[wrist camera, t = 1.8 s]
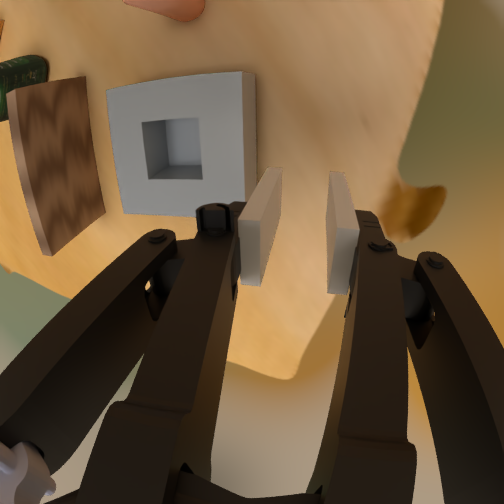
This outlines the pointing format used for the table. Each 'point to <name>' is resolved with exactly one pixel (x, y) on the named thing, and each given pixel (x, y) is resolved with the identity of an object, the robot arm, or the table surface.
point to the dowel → (171, 7)
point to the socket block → (184, 142)
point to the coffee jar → (19, 77)
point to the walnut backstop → (55, 159)
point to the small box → (0, 25)
